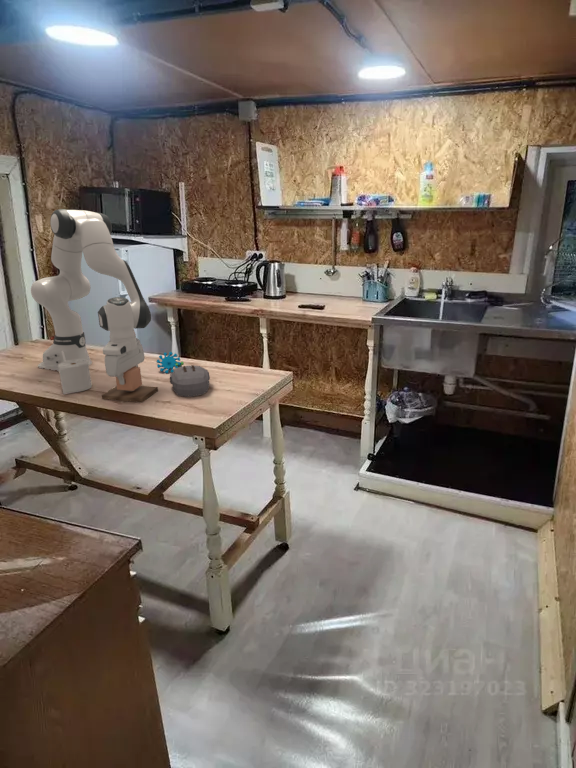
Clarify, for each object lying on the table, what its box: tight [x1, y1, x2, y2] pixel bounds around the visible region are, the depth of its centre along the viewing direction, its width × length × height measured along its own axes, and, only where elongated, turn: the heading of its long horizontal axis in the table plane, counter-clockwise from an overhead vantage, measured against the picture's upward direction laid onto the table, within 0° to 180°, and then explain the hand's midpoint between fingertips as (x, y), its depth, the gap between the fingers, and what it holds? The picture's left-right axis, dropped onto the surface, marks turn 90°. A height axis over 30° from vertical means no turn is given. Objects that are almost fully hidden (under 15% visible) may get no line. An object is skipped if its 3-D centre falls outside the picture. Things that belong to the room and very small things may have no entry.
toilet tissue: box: [58, 359, 93, 395], centre depth 188 cm, size 11×12×10 cm
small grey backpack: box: [169, 364, 211, 398], centre depth 186 cm, size 15×8×20 cm
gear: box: [156, 351, 185, 375], centre depth 209 cm, size 11×6×10 cm
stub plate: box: [101, 385, 159, 403], centre depth 181 cm, size 16×12×6 cm
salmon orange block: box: [115, 366, 143, 391], centre depth 180 cm, size 6×6×7 cm
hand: (128, 380), depth 180 cm, fingers closed on salmon orange block, 6 cm apart
